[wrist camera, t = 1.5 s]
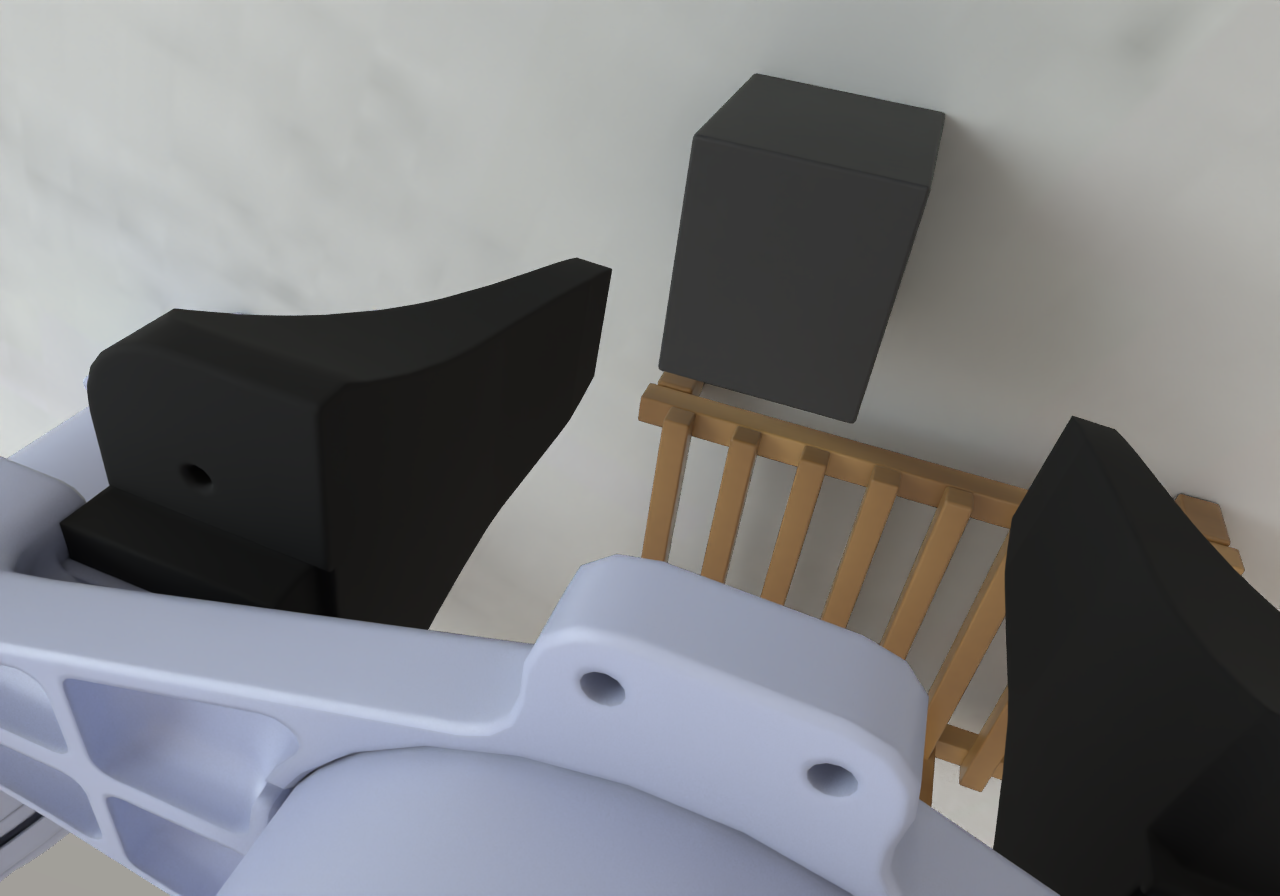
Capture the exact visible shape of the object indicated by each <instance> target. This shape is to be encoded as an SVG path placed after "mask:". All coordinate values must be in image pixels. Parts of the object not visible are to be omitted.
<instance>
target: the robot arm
mask: <svg viewBox="0 0 1280 896" xmlns="http://www.w3.org/2000/svg"><path fill="white" fill-rule="evenodd" d="M611 273H612V269H611V268H608V267H605V266H601V265H598V264H595V263H592V262H589V261H586V260H583V259H579V258H573V259H568V260H564V261H561V262H558V263H555V264H552V265H549V266H546V267H543V268H540V269H537V270H534V271H531V272H528V273H525V274H522V275H519V276H516V277H513V278H510V279H507V280H504V281H501V282H498V283H495V284H492V285H489V286H485V287H482V288H478V289H475V290H471V291H468V292H464V293H460V294H457V295H453V296H450V297H446V298H442V299H438V300H434V301H429V302H424V303H419V304H414V305H408V306H402V307H396V308H390V309H384V310H376V311H364V312H353V313H341V314H330V315H303V316H274V315H244V314H241V313H232V314H231V313H218V312H206V311H194V310H184V309H172V310H171V311H169V312H168V313H166V314H164V315H163V316H161V317H159V318H158V319H156V320H154V321H152V322H151V323H149V324H147V325H146V326H144V327H142V328H141V329H139V330H137V331H136V332H134V333H132V334H131V335H129V336H127V337H126V338H124V339H122V340H120V341H119V342H117V343H115V344H114V345H112V346H110V347H109V348H107V349H105V350H104V351H102V352H101V353H100V354H99V356H98V357H97V358H96V360H95V361H94V362H93V364H92V365H91V367H90V372H89V375H88V376H86V377H85V378H84V382H83V383H84V387H85V388H86V390H87V393H88V401H89V406H88V407H86V408H85V409H83V410H82V411H80V412H79V413H77V414H75V415H74V416H72V417H71V418H69V419H68V420H66V421H65V422H63V423H61V424H60V425H58V426H57V427H55V428H54V429H52V430H50V431H49V432H47V433H46V434H44V435H43V436H41V437H40V438H38V439H36V440H35V441H33V442H32V443H30V444H29V445H27V446H25V447H24V448H22V449H21V450H19V451H18V452H16V453H15V454H13V455H11V456H10V457H8V458H7V459H6V458H4V457H1V456H0V882H1V881H2V880H3V879H5V878H6V877H7V876H9V875H10V874H11V873H12V872H14V871H15V870H17V869H19V868H21V867H22V866H24V865H25V864H27V863H29V862H30V861H32V860H34V859H35V858H37V857H38V856H40V855H41V854H43V853H44V852H45V851H47V850H48V849H50V848H51V847H52V846H54V845H55V844H56V843H57V842H59V841H60V840H61V839H62V838H64V837H65V836H66V835H67V834H69V833H72V834H74V835H75V836H77V837H78V838H80V839H82V840H83V841H85V842H86V843H88V844H90V845H91V846H93V847H94V848H96V849H97V850H99V851H101V852H102V853H104V854H105V855H107V856H109V857H110V858H112V859H113V860H115V861H117V862H118V863H120V864H121V865H123V866H124V867H126V868H128V869H129V870H131V871H132V872H134V873H136V874H137V875H139V876H140V877H142V878H144V879H145V880H147V881H148V882H150V883H151V884H153V885H155V886H157V887H158V888H159V889H161V890H163V891H164V892H166V893H167V894H169V895H171V896H1280V612H1279V611H1278V610H1277V609H1276V608H1275V607H1274V606H1273V605H1271V604H1270V603H1269V602H1268V601H1267V600H1266V599H1265V598H1264V597H1263V596H1262V595H1261V594H1260V593H1258V592H1257V591H1256V590H1255V589H1254V588H1253V587H1252V586H1251V585H1250V584H1249V583H1248V582H1247V581H1246V580H1245V579H1244V578H1243V577H1242V576H1241V575H1240V574H1239V573H1238V572H1237V571H1236V570H1235V569H1234V568H1233V567H1232V566H1231V565H1230V564H1229V563H1228V562H1227V560H1226V559H1225V558H1224V557H1223V556H1222V555H1221V554H1220V553H1219V552H1218V551H1217V550H1216V549H1215V547H1214V546H1213V545H1212V544H1211V543H1210V542H1209V541H1208V540H1207V539H1206V538H1205V536H1204V535H1203V534H1202V533H1201V532H1200V531H1199V530H1198V528H1197V527H1196V526H1195V525H1194V524H1193V523H1192V521H1191V520H1190V519H1189V518H1188V517H1187V515H1186V514H1185V513H1184V512H1183V511H1182V509H1181V508H1180V507H1179V506H1178V504H1177V503H1176V502H1175V501H1174V500H1173V498H1172V497H1171V496H1170V495H1169V493H1168V492H1167V491H1166V490H1165V488H1164V487H1163V486H1162V485H1161V483H1160V482H1159V481H1158V480H1157V478H1156V477H1155V476H1154V474H1153V473H1152V472H1151V471H1150V469H1149V468H1148V467H1147V466H1146V464H1145V463H1144V462H1143V461H1142V459H1141V458H1140V457H1139V456H1138V454H1137V453H1136V452H1135V451H1134V449H1133V448H1132V447H1131V446H1130V445H1129V444H1128V442H1127V441H1126V440H1125V439H1124V438H1123V437H1122V436H1121V435H1120V434H1119V433H1118V432H1117V431H1116V430H1115V429H1112V428H1109V427H1106V426H1103V425H1100V424H1097V423H1094V422H1091V421H1087V420H1084V419H1081V418H1078V417H1075V416H1072V417H1071V419H1070V420H1069V422H1068V424H1067V425H1066V427H1065V429H1064V431H1063V432H1062V434H1061V436H1060V437H1059V439H1058V441H1057V442H1056V444H1055V446H1054V447H1053V449H1052V451H1051V453H1050V454H1049V456H1048V458H1047V459H1046V461H1045V463H1044V464H1043V466H1042V468H1041V470H1040V471H1039V473H1038V475H1037V476H1036V478H1035V480H1034V481H1033V483H1032V485H1031V486H1030V488H1029V490H1028V492H1027V493H1026V495H1025V497H1024V498H1023V500H1022V502H1021V503H1020V505H1019V507H1018V509H1017V510H1016V512H1015V514H1014V515H1013V517H1012V521H1011V527H1010V534H1009V541H1008V547H1007V556H1006V564H1005V619H1006V647H1007V675H1008V722H1007V733H1006V743H1005V753H1004V764H1003V774H1002V783H1001V791H1000V799H999V808H998V816H997V824H996V832H995V840H994V846H993V849H992V848H990V847H989V846H987V845H986V844H984V843H983V842H981V841H980V840H978V839H977V838H975V837H974V836H973V835H971V834H970V833H968V832H967V831H965V830H964V829H962V828H961V827H959V826H958V825H956V824H955V823H953V822H952V821H951V820H949V819H948V818H946V817H945V816H943V815H942V814H940V813H939V812H937V811H936V810H934V809H933V808H932V807H930V806H929V805H927V804H926V803H924V802H923V801H921V800H920V799H919V795H920V789H921V781H922V769H923V758H924V746H925V735H926V723H927V711H928V700H929V696H928V694H927V693H926V691H925V689H924V688H923V686H922V685H921V683H920V681H919V680H918V678H917V677H916V675H915V674H914V672H913V670H912V669H911V667H910V666H909V664H908V663H907V661H905V660H904V659H902V658H900V657H899V656H897V655H895V654H894V653H892V652H890V651H889V650H887V649H885V648H884V647H882V646H880V645H879V644H877V643H875V642H874V641H872V640H870V639H869V638H867V637H865V636H864V635H861V634H858V633H856V632H853V631H850V630H847V629H845V628H842V627H839V626H837V625H834V624H831V623H828V622H826V621H823V620H820V619H818V618H815V617H812V616H809V615H807V614H804V613H801V612H799V611H796V610H793V609H791V608H788V607H785V606H782V605H780V604H777V603H774V602H772V601H769V600H766V599H763V598H761V597H758V596H755V595H753V594H750V593H747V592H744V591H742V590H739V589H736V588H734V587H731V586H728V585H725V584H723V583H720V582H717V581H715V580H712V579H709V578H707V577H704V576H701V575H698V574H696V573H693V572H690V571H688V570H685V569H682V568H679V567H677V566H674V565H671V564H669V563H666V562H663V561H658V560H652V559H645V558H639V557H633V556H627V555H621V554H615V555H612V556H608V557H605V558H602V559H599V560H596V561H593V562H590V563H587V564H584V565H581V566H580V568H579V569H578V571H577V572H576V574H575V575H574V577H573V579H572V580H571V582H570V583H569V585H568V587H567V588H566V590H565V591H564V593H563V595H562V597H561V598H560V600H559V602H558V604H557V605H556V607H555V609H554V611H553V612H552V614H551V616H550V618H549V619H548V621H547V623H546V625H545V626H544V628H543V630H542V632H541V633H540V635H539V637H538V639H537V640H536V642H535V644H529V643H522V642H514V641H507V640H499V639H492V638H484V637H477V636H470V635H462V634H455V633H447V632H440V631H432V630H428V629H429V627H430V625H431V623H432V622H433V620H434V618H435V616H436V614H437V613H438V611H439V609H440V607H441V606H442V604H443V602H444V600H445V599H446V597H447V595H448V593H449V592H450V590H451V588H452V586H453V585H454V583H455V581H456V579H457V578H458V576H459V574H460V572H461V571H462V569H463V567H464V566H465V564H466V562H467V561H468V559H469V557H470V556H471V554H472V552H473V551H474V549H475V547H476V546H477V544H478V542H479V541H480V539H481V538H482V536H483V534H484V533H485V531H486V529H487V528H488V526H489V525H490V523H491V522H492V520H493V519H494V517H495V516H496V515H497V513H498V512H499V510H500V509H501V508H502V506H503V505H504V504H505V502H506V501H507V500H508V499H509V497H510V496H511V495H512V493H513V492H514V491H515V490H516V488H517V487H518V486H519V485H520V483H521V482H522V481H523V479H524V478H525V477H526V476H527V474H528V473H529V472H530V471H531V469H532V468H533V467H534V465H535V464H536V463H537V462H538V460H539V459H540V458H541V457H542V455H543V454H544V453H545V452H546V450H547V449H548V448H549V446H550V445H551V444H552V442H553V441H554V440H555V439H556V437H557V436H558V435H559V433H560V432H561V431H562V429H563V428H564V427H565V425H566V424H567V423H568V421H569V420H570V418H571V417H572V415H573V413H574V411H575V410H576V408H577V406H578V405H579V403H580V401H581V399H582V397H583V396H584V394H585V392H586V390H587V388H588V386H589V385H590V383H591V381H592V379H593V377H594V374H595V368H596V362H597V356H598V350H599V344H600V338H601V332H602V326H603V320H604V314H605V308H606V303H607V297H608V291H609V285H610V279H611Z"/></svg>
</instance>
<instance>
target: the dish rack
mask: <svg viewBox="0 0 1280 896" xmlns="http://www.w3.org/2000/svg"><path fill="white" fill-rule="evenodd" d="M703 383H704V382H701V381H697V380H693V379H690V378H686V377H683V376H679V375H676V374H672V373H668V372H665V371H664V373H663V375H662V376H661V378H660V379H659V381H658V385H656V384H653V383H650V384H649V386H648V387H647V389H646V390H645V392H644V393H643V395H642V397H641V402H640V409H639V416H638V420H639V421H642V422H646V423H649V424H653V425H656V426H659V427H662V433H661V439H660V445H659V451H658V457H657V464H656V470H655V476H654V482H653V488H652V494H651V501H650V507H649V513H648V519H647V525H646V531H645V537H644V544H643V550H642V556H641V558H645V559H652V560H658V561H663V562H666V563H668V558H669V553H670V548H671V543H672V537H673V532H674V527H675V521H676V516H677V511H678V505H679V500H680V495H681V490H682V484H683V479H684V474H685V468H686V463H687V458H688V452H689V447H690V442H691V436H694V437H697V438H700V439H704V440H707V441H711V442H714V443H718V444H721V445H724V446H728V447H729V449H728V454H727V458H726V463H725V467H724V472H723V476H722V481H721V485H720V490H719V494H718V499H717V503H716V508H715V512H714V517H713V521H712V526H711V530H710V535H709V539H708V544H707V548H706V553H705V557H704V562H703V566H702V571H701V576H704V577H707V578H709V579H712V580H715V581H717V582H720V583H723V584H725V582H726V578H727V574H728V570H729V566H730V562H731V558H732V554H733V550H734V546H735V542H736V538H737V534H738V530H739V526H740V522H741V518H742V514H743V509H744V505H745V501H746V497H747V493H748V489H749V485H750V481H751V477H752V473H753V469H754V465H755V461H756V457H757V455H759V456H762V457H765V458H769V459H772V460H776V461H779V462H782V463H786V464H789V465H793V466H796V467H797V471H796V474H795V478H794V481H793V485H792V488H791V492H790V495H789V499H788V502H787V506H786V509H785V513H784V516H783V520H782V523H781V527H780V530H779V534H778V537H777V541H776V544H775V548H774V551H773V555H772V558H771V562H770V565H769V569H768V572H767V576H766V579H765V583H764V586H763V590H762V593H761V596H760V597H761V598H763V599H766V600H769V601H772V602H774V603H777V604H780V605H782V606H784V604H785V601H786V598H787V594H788V591H789V588H790V585H791V582H792V578H793V575H794V572H795V569H796V566H797V562H798V559H799V556H800V553H801V550H802V546H803V543H804V540H805V537H806V534H807V530H808V527H809V524H810V521H811V518H812V514H813V511H814V508H815V505H816V502H817V498H818V495H819V492H820V489H821V486H822V482H823V479H824V476H825V475H827V476H830V477H834V478H837V479H841V480H844V481H847V482H851V483H854V484H858V485H861V486H864V487H866V490H865V493H864V496H863V499H862V501H861V504H860V507H859V510H858V513H857V516H856V518H855V521H854V524H853V527H852V530H851V533H850V535H849V538H848V541H847V544H846V547H845V550H844V552H843V555H842V558H841V561H840V564H839V567H838V569H837V572H836V575H835V578H834V581H833V584H832V586H831V589H830V592H829V595H828V598H827V601H826V603H825V606H824V609H823V612H822V615H821V618H820V620H823V621H826V622H828V623H831V624H834V625H837V626H839V627H842V628H845V629H846V626H847V624H848V621H849V618H850V616H851V613H852V611H853V608H854V605H855V603H856V600H857V598H858V595H859V592H860V590H861V587H862V584H863V582H864V579H865V577H866V574H867V571H868V569H869V566H870V564H871V561H872V558H873V556H874V553H875V550H876V548H877V545H878V543H879V540H880V537H881V535H882V532H883V530H884V527H885V524H886V522H887V519H888V516H889V514H890V511H891V509H892V506H893V503H894V501H895V498H896V496H899V497H902V498H905V499H909V500H912V501H916V502H919V503H923V504H926V505H929V506H933V507H936V508H937V510H936V512H935V514H934V517H933V519H932V522H931V524H930V526H929V529H928V531H927V533H926V536H925V538H924V540H923V543H922V545H921V548H920V550H919V552H918V555H917V557H916V559H915V562H914V564H913V566H912V569H911V571H910V573H909V576H908V578H907V581H906V583H905V585H904V588H903V590H902V592H901V595H900V597H899V599H898V602H897V604H896V607H895V609H894V611H893V614H892V616H891V618H890V621H889V623H888V625H887V628H886V630H885V633H884V635H883V637H882V640H881V642H880V644H879V645H880V646H882V647H884V648H885V649H887V650H889V651H890V652H892V653H894V654H895V655H897V656H899V657H900V658H902V659H904V660H905V658H906V656H907V654H908V652H909V650H910V648H911V645H912V643H913V641H914V639H915V637H916V634H917V632H918V630H919V628H920V626H921V623H922V621H923V619H924V617H925V615H926V612H927V610H928V608H929V606H930V604H931V602H932V599H933V597H934V595H935V593H936V591H937V588H938V586H939V584H940V582H941V580H942V577H943V575H944V573H945V571H946V569H947V567H948V564H949V562H950V560H951V558H952V556H953V553H954V551H955V549H956V547H957V545H958V542H959V540H960V538H961V536H962V534H963V532H964V529H965V527H966V525H967V523H968V521H969V518H974V519H977V520H981V521H984V522H988V523H991V524H994V525H998V526H1001V527H1005V528H1008V529H1010V527H1011V521H1012V517H1013V515H1014V514H1015V512H1016V510H1017V509H1018V507H1019V505H1020V503H1021V502H1022V500H1023V498H1024V497H1025V495H1026V493H1027V492H1028V490H1027V489H1023V488H1020V487H1016V486H1013V485H1009V484H1006V483H1002V482H998V481H995V480H991V479H988V478H984V477H981V476H977V475H974V474H970V473H967V472H963V471H960V470H956V469H953V468H949V467H946V466H942V465H939V464H935V463H931V462H928V461H924V460H921V459H917V458H914V457H910V456H907V455H903V454H900V453H896V452H893V451H889V450H886V449H882V448H879V447H875V446H871V445H868V444H864V443H861V442H857V441H854V440H850V439H847V438H843V437H840V436H836V435H833V434H829V433H826V432H822V431H819V430H815V429H812V428H808V427H804V426H801V425H797V424H794V423H790V422H787V421H783V420H780V419H776V418H773V417H769V416H766V415H762V414H759V413H755V412H752V411H748V410H744V409H741V408H737V407H734V406H730V405H727V404H723V403H720V402H716V401H713V400H709V399H706V398H702V397H699V396H700V394H701V392H702V389H703ZM1175 502H1176V503H1177V504H1178V506H1179V507H1180V508H1181V509H1182V511H1183V512H1184V513H1185V514H1186V515H1187V517H1188V518H1189V519H1190V520H1191V521H1192V523H1193V524H1194V525H1195V526H1196V527H1197V528H1198V530H1199V531H1200V532H1201V533H1202V534H1203V535H1204V536H1205V538H1206V539H1207V540H1208V541H1209V542H1210V543H1211V544H1212V545H1213V546H1214V547H1215V549H1216V550H1217V551H1218V552H1219V553H1220V554H1221V555H1222V556H1223V557H1224V558H1225V559H1226V560H1227V562H1228V563H1229V564H1230V565H1231V566H1232V567H1233V568H1234V569H1235V570H1236V571H1237V572H1238V573H1239V574H1240V575H1242V574H1243V572H1244V571H1245V569H1244V566H1243V562H1242V559H1241V556H1240V553H1239V550H1237V549H1235V548H1231V547H1229V545H1230V542H1231V541H1230V538H1229V535H1228V532H1227V529H1226V525H1225V522H1224V519H1223V516H1222V513H1221V509H1220V506H1219V505H1218V504H1216V503H1212V502H1208V501H1205V500H1201V499H1197V498H1194V497H1190V496H1186V495H1183V494H1179V495H1178V496H1177V498H1176V500H1175ZM1009 534H1010V530H1009V532H1008V534H1007V536H1006V538H1005V540H1004V542H1003V544H1002V546H1001V548H1000V550H999V552H998V554H997V556H996V558H995V560H994V562H993V564H992V566H991V568H990V570H989V572H988V574H987V576H986V578H985V580H984V582H983V584H982V586H981V588H980V590H979V592H978V594H977V596H976V598H975V600H974V602H973V604H972V606H971V608H970V610H969V612H968V614H967V616H966V618H965V620H964V622H963V624H962V626H961V628H960V630H959V632H958V634H957V636H956V638H955V640H954V642H953V644H952V646H951V648H950V650H949V652H948V654H947V656H946V658H945V660H944V662H943V664H942V666H941V668H940V670H939V672H938V674H937V676H936V678H935V680H934V682H933V684H932V686H931V688H930V690H929V692H928V696H929V700H928V711H927V723H926V735H925V746H924V758H923V769H922V781H921V789H920V795H919V799H920V800H921V801H923V802H924V803H926V804H927V805H929V806H930V807H931V805H932V792H933V778H934V765H935V757H936V758H939V759H942V760H945V761H948V762H951V763H954V764H957V765H959V766H960V774H959V784H960V785H962V786H964V787H967V788H970V789H973V790H976V791H979V792H982V791H983V789H984V787H985V786H986V784H987V783H988V781H989V779H990V778H991V777H994V778H997V779H1000V780H1002V774H1003V764H1004V753H1005V743H1006V733H1007V722H1008V685H1007V686H1006V688H1005V690H1004V692H1003V693H1002V695H1001V697H1000V699H999V700H998V702H997V704H996V705H995V707H994V709H993V711H992V712H991V714H990V716H989V717H988V719H987V721H986V723H985V724H984V726H983V728H982V730H981V731H980V733H979V734H976V733H973V732H970V731H967V730H964V729H961V728H958V727H955V726H952V725H949V724H947V723H948V722H949V720H950V718H951V716H952V714H953V712H954V710H955V709H956V707H957V705H958V703H959V701H960V699H961V697H962V696H963V694H964V692H965V690H966V688H967V686H968V684H969V683H970V681H971V679H972V677H973V675H974V673H975V671H976V669H977V668H978V666H979V664H980V662H981V660H982V658H983V656H984V655H985V653H986V651H987V649H988V647H989V645H990V643H991V642H992V640H993V638H994V636H995V634H996V632H997V630H998V629H999V627H1000V625H1001V623H1002V621H1003V619H1004V617H1005V564H1006V556H1007V547H1008V541H1009Z"/></svg>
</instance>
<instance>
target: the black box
mask: <svg viewBox="0 0 1280 896" xmlns="http://www.w3.org/2000/svg"><path fill="white" fill-rule="evenodd" d="M944 120H945V114H944V113H942V112H938V111H933V110H928V109H923V108H918V107H914V106H909V105H904V104H899V103H895V102H890V101H885V100H880V99H876V98H871V97H866V96H861V95H856V94H852V93H847V92H842V91H837V90H833V89H828V88H823V87H818V86H814V85H809V84H804V83H799V82H794V81H790V80H785V79H780V78H775V77H771V76H766V75H761V74H754V75H753V76H752V77H751V78H750V79H749V80H748V81H747V82H746V83H745V84H744V85H743V86H742V87H741V88H740V89H739V90H738V91H737V92H736V93H735V94H734V95H733V96H732V97H731V98H730V99H729V100H728V101H727V102H726V103H725V104H724V105H723V106H722V107H721V108H720V109H719V110H718V111H717V112H716V113H715V114H714V115H713V116H712V117H711V118H710V119H709V121H708V122H707V123H706V124H705V125H704V126H703V127H702V128H701V129H700V130H699V131H698V132H697V133H696V134H695V135H694V137H693V141H692V148H691V154H690V161H689V168H688V174H687V181H686V187H685V194H684V201H683V207H682V214H681V220H680V227H679V234H678V240H677V247H676V253H675V260H674V267H673V273H672V280H671V286H670V293H669V300H668V306H667V313H666V319H665V326H664V333H663V339H662V346H661V352H660V359H659V369H660V370H661V371H665V372H668V373H672V374H676V375H679V376H683V377H686V378H690V379H693V380H697V381H701V382H704V383H708V384H711V385H715V386H718V387H722V388H726V389H729V390H733V391H736V392H740V393H743V394H747V395H751V396H754V397H758V398H761V399H765V400H768V401H772V402H776V403H779V404H783V405H786V406H790V407H793V408H797V409H801V410H804V411H808V412H811V413H815V414H818V415H822V416H826V417H829V418H833V419H836V420H840V421H843V422H847V423H851V424H852V423H854V422H855V421H856V419H857V416H858V412H859V409H860V406H861V403H862V400H863V397H864V394H865V391H866V388H867V385H868V382H869V379H870V375H871V372H872V369H873V366H874V363H875V360H876V357H877V354H878V351H879V348H880V345H881V342H882V338H883V335H884V332H885V329H886V326H887V323H888V320H889V317H890V314H891V311H892V308H893V304H894V301H895V298H896V295H897V292H898V289H899V286H900V283H901V280H902V277H903V274H904V271H905V267H906V264H907V261H908V258H909V255H910V252H911V249H912V246H913V243H914V240H915V237H916V234H917V230H918V227H919V224H920V221H921V218H922V215H923V212H924V209H925V206H926V203H927V200H928V196H929V193H930V190H931V185H932V180H933V175H934V170H935V165H936V160H937V155H938V150H939V145H940V140H941V135H942V130H943V125H944Z"/></svg>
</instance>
